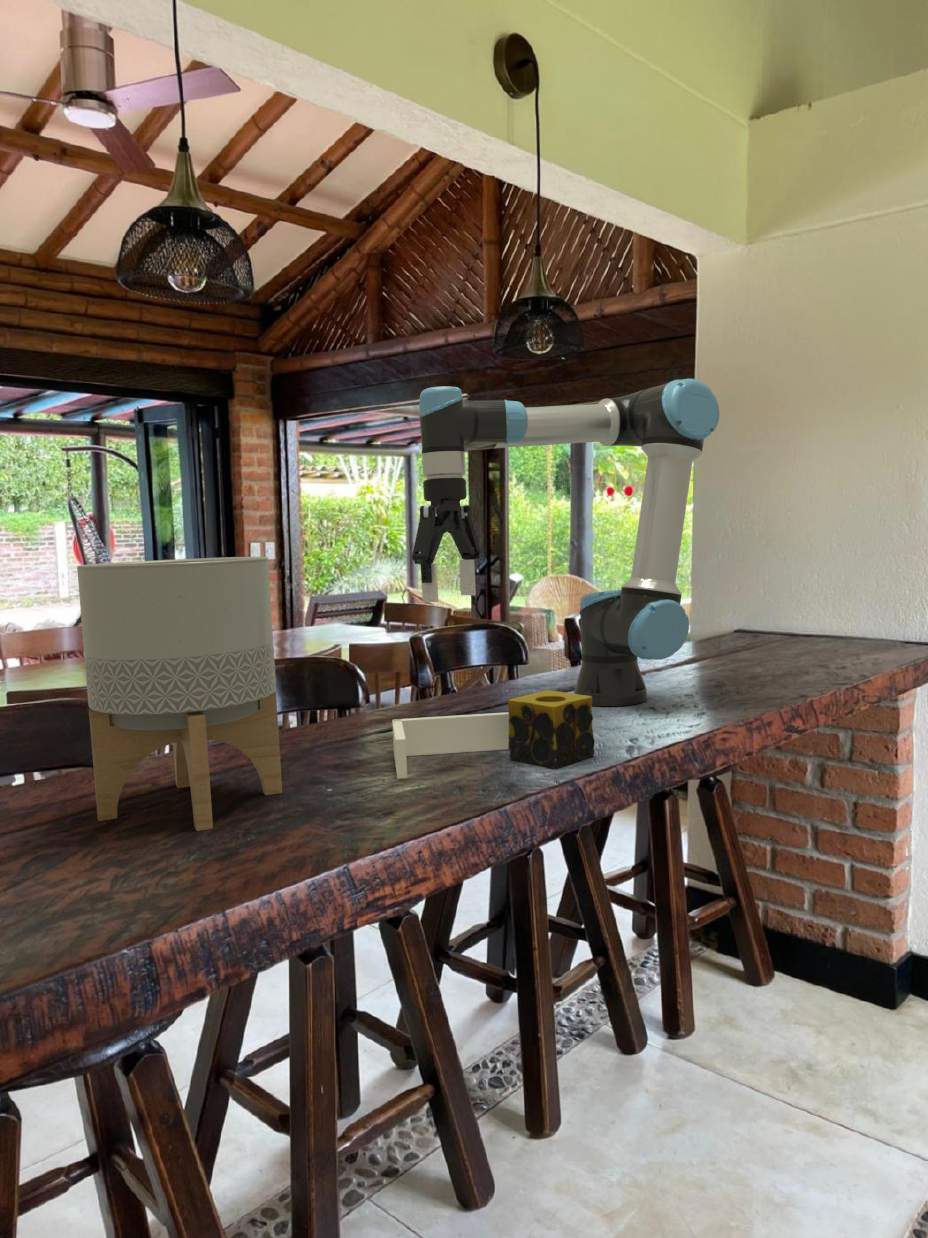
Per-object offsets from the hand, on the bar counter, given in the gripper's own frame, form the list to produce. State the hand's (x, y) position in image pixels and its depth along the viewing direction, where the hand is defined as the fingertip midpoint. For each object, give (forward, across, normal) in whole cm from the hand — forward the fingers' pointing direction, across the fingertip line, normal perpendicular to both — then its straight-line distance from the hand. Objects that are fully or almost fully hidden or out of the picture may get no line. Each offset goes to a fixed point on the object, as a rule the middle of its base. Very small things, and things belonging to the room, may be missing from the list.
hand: (450, 598), depth 160 cm
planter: (+25, +50, -15) cm, 57 cm away
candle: (+25, +8, +22) cm, 35 cm away
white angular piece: (+25, +16, +9) cm, 31 cm away
